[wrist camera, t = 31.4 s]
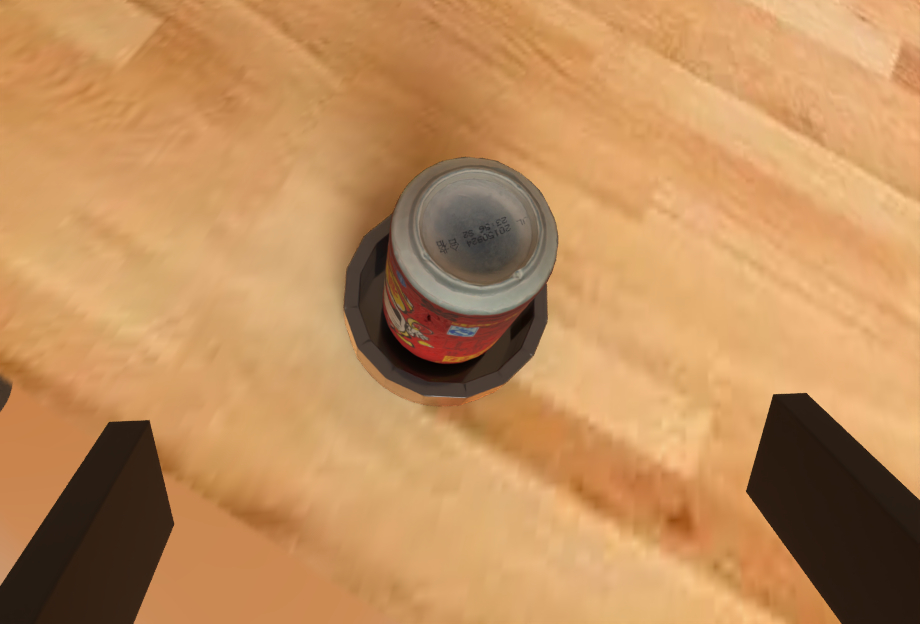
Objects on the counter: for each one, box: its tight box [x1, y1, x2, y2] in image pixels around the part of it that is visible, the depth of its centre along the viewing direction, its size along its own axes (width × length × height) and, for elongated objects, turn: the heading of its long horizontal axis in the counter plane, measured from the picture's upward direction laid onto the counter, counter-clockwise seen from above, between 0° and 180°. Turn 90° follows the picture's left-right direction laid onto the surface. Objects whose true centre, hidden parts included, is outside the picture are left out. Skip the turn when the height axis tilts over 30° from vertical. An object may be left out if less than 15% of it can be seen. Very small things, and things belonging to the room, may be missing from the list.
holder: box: [343, 213, 548, 406], centre depth 36 cm, size 11×11×4 cm
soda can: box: [383, 157, 558, 364], centre depth 31 cm, size 7×7×12 cm
